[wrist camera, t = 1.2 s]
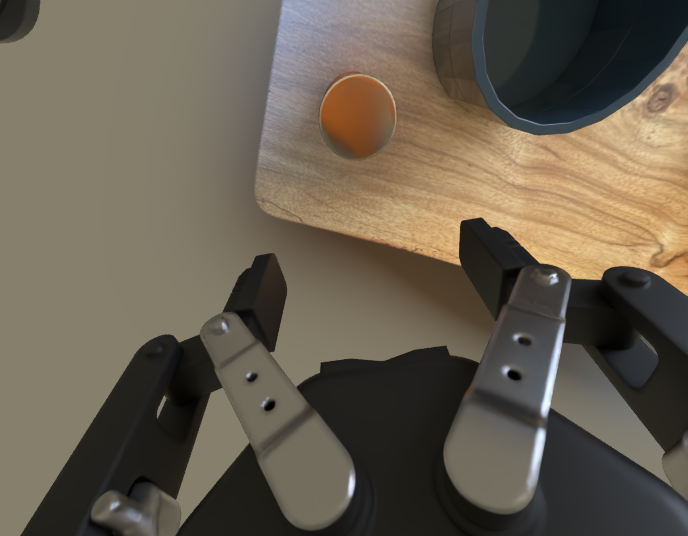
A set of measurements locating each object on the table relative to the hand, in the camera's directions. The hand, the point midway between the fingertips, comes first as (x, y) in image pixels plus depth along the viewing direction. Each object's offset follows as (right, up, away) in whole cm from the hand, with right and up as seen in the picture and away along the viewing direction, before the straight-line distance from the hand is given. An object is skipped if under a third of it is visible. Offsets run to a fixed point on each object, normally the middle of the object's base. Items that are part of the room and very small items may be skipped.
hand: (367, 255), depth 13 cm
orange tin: (0, +14, +14) cm, 20 cm away
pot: (+13, +19, +11) cm, 26 cm away
